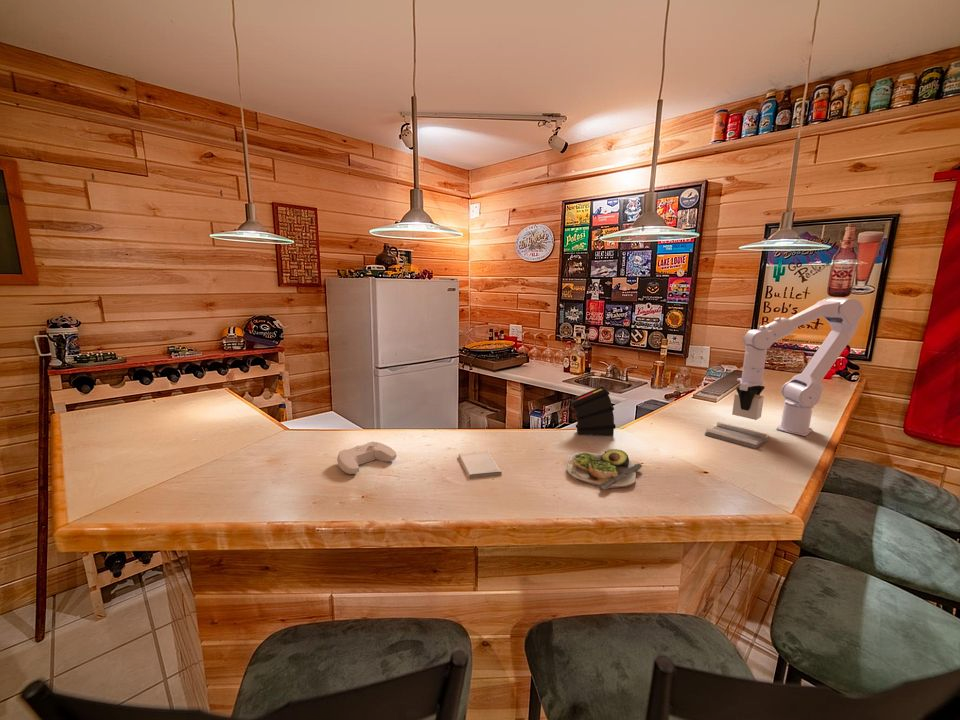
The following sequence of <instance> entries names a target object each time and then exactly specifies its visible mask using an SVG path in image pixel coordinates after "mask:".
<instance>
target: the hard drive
mask: <svg viewBox="0 0 960 720" xmlns="http://www.w3.org/2000/svg"><path fill="white" fill-rule="evenodd" d="M458 459H459V461H460V463H461V465H462V467H463V469H464V471H465V474H466V475H467V477H468V479H469V480H470V479H478V478H488V477H489V478H490V477H497V476H499V477H500V476H502V475H503V474H502V473H503V472H502V471H501V469H500V468H499V466H498V465H497V463H496V462H495V459H493V457H492V456H491V454H490V452H488V451H476V452H466V453H465V452H464V453H460V454H458Z"/></svg>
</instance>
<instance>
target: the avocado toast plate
mask: <svg viewBox="0 0 960 720" xmlns="http://www.w3.org/2000/svg"><path fill="white" fill-rule="evenodd" d="M642 467H643V465H642V464H641V463H633V461H632V460H631V461H630V458H629V455H628V454H627V453H626V452H625V451H624V450H622V449H617V448H615V449H614V448H612V449H608V450H605V451H604V453H602V454H601V453H600V454H599V453H594V452H588V451H581V452H575V453H573V454H572V455H571V456H569V460H568V463H567V465H566V472H567V474H568V475H569V476H570V477H571V478H573V479H574V480H576V481H577V482H579V483H582V484H585V485H587V486H592V487H593V486H595V487H598V488H600V489H602V490H607V489H613V488H614V489H615V488H616V489H617V488H625V487H630V486H632V485H633V484H634V483H635V481H636V474H637V472H638V471H640V469H641V468H642ZM577 468H578V469H580V470H582V471H584V472H587V473H589V474H590V475H591V476H590V478H585V477H582V476H581V475H579V474H578V473H577Z"/></svg>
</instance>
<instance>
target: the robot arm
mask: <svg viewBox="0 0 960 720" xmlns="http://www.w3.org/2000/svg"><path fill="white" fill-rule="evenodd" d="M865 313H866V311H865V309H864V306H863V302H861V301H860V300H859V299H857V298H853V297H852V298H851V297H850V298H848V297H847V298H845V297H835V296H829V297H825V298H824V299H821V300H818V301H817V302H816V303H815V304H814V305H811V306H810V307H808V308H806V309H804V310H802V311H800V312H798V313H796V314H794V315H792V316H791V317H789V318H787V317H775V318H774V319H773V321H771V322H769V323H768V324H766V325H760V326H759V328H758V329H753V328H752V329H750V330H748V331H747V332H746V333H745V334H744V336H743V337H742V342H743V344H744V346H745V348H744V350H745V351H744V358H743V364H742V372H741V377H739V378H738V377H737V378H736V381H737V382H740V384H739V386H736V393H738V395H739V398H740V405H741V409H743V410H747V411H748V410H749V409H750V407H751V403H752V400H753V398H754V396H755V394H756V395H760V396H761V393H762V392H763V391H764V390H765V388H766V387H765V386H764V385H763V384H764V382H763V381H764V380H763V378H764V374H765V373H764V371H765V365H766V364H765V363H766V359H767V353H768V349H770V348H771V346H772V345H773V344H774V343H775V342H777V341H779V340H781V339H783V338H785V337H787V336H790V335H793V334H794V332H795V328H799V327H800V326H803V325H806V324H808V323H811V322H813V321H814V320H817V319H820V318H823V319H825V321H826V322H827V323H828V324H829V327H830V329H831V331H829V333H828V335H827V337H825V339H824V340H823V342H822V343H821V345H820V346H819V348H818V349H817V350H816V352H815V353H814V355H813V356H812V358H811V359H810V360H809V361H808V363H807V365H806V366H805V368H804V369H803V370H802V372H800V373H798V374H795V375H793V376H792V377H791V379H790V380H789V381H787V382H785V383H784V384H783V385H782V386H781V395H782V397H783V401H784V402H783V403H784V405H783V410H782V415H781V421H780V424H779V426H777V427H776V428H775V430H778V431H781V432H786V433H789V434H794V435H797V436H803V437H807V436H808V435H809V434H810V433H812V431H813V430H814V428H812V427H810V425H811V420H812V415H813V409H814V406H816V405H817V404H819V401H820V400H821V394H822V393H823V391H824V390H825V389H824V385H823V384H822V381H823V379H824V378H825V376H826V375H827V374H828V372H829V371H830V369H831V368H832V366H834V364H835V362H836V361H837V360H838V358H839V357H840V356H841V354H842V353H843V351H844V350H845V349H846V347H847V346H848V344H849V343H850V341H851V340H852V338H853V337H854V336H855V335H856V333H857V331H858V328H859V327H858V326H859V323H860V322H859V321H860V319H862V317H863V315H864V314H865Z"/></svg>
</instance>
